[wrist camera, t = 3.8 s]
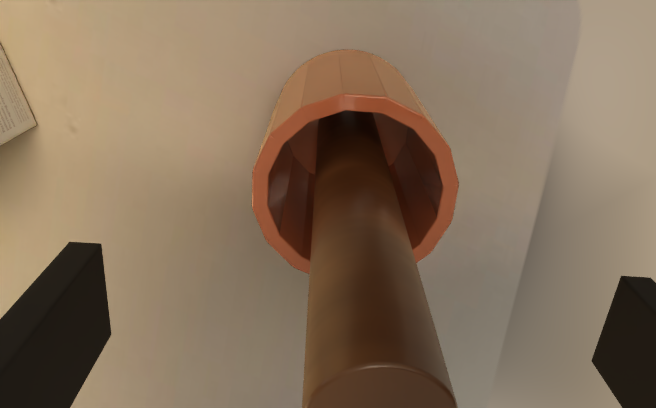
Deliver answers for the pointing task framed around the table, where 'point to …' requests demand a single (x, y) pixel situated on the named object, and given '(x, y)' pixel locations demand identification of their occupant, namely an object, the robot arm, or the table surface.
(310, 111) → the holder
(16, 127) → the white packaging box
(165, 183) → the table surface
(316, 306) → the brown cylindrical stick
